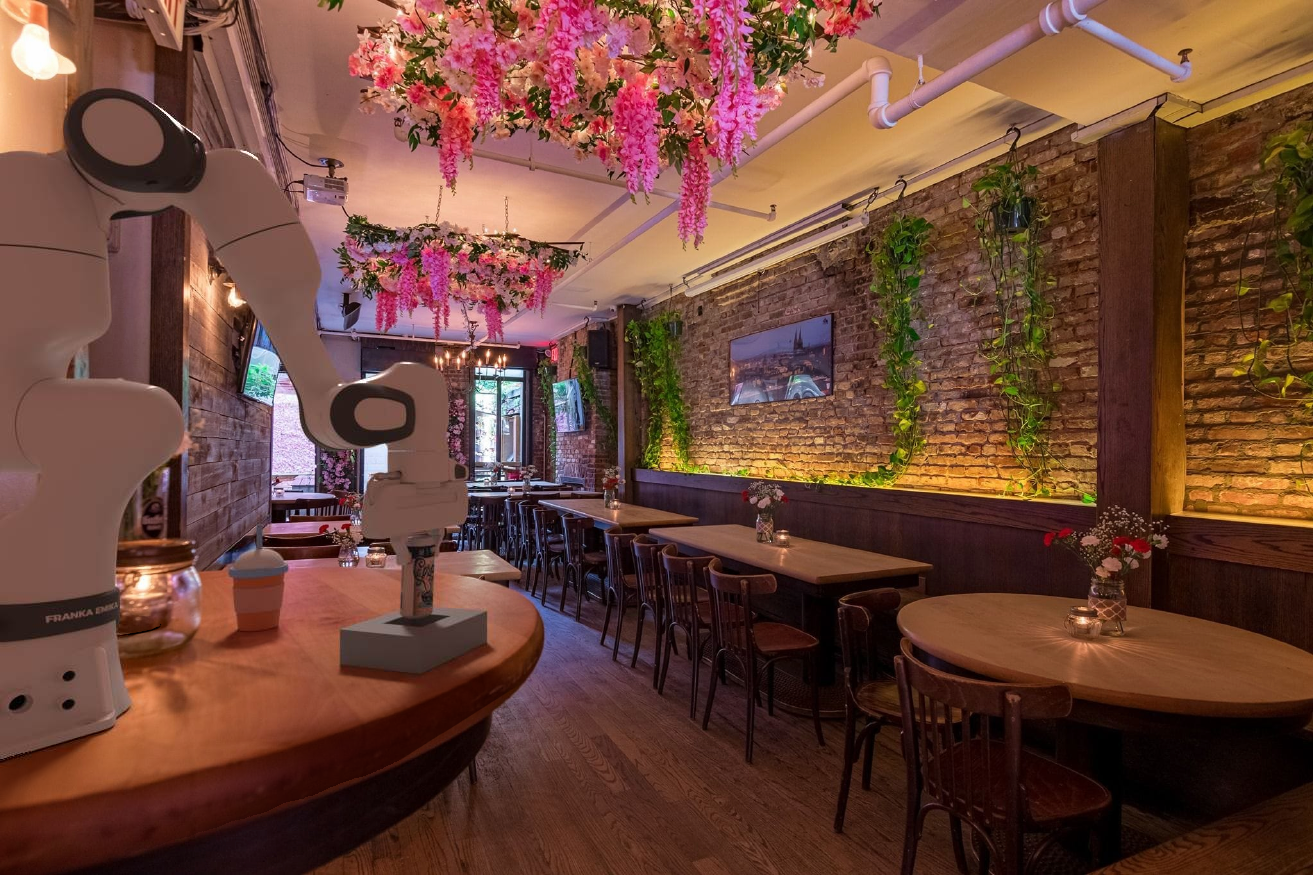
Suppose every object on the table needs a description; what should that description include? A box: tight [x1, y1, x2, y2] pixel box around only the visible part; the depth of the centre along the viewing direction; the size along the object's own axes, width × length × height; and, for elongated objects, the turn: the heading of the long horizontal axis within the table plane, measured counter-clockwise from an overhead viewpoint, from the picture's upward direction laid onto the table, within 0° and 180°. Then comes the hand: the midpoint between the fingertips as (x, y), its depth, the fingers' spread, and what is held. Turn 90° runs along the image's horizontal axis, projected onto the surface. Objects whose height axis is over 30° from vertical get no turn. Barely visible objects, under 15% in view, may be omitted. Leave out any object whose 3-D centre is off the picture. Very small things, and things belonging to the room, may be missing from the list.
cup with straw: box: [227, 523, 289, 632], centre depth 115 cm, size 9×9×18 cm
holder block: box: [339, 606, 488, 675], centre depth 99 cm, size 16×14×5 cm
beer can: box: [399, 534, 435, 619], centre depth 100 cm, size 5×5×12 cm
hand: (418, 561), depth 100 cm, fingers closed on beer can, 5 cm apart
